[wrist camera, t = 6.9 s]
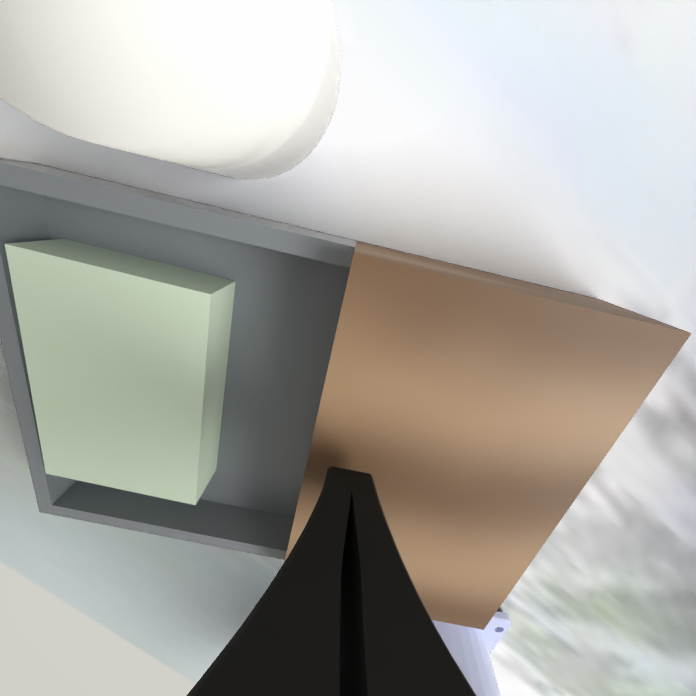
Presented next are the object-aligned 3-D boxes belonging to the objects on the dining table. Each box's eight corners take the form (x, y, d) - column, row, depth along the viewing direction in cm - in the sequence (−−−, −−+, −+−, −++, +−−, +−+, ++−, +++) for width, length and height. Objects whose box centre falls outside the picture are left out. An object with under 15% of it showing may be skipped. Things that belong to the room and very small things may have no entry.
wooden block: (460, 550, 17) (483, 629, 14) (294, 517, 17) (277, 590, 13) (600, 299, 12) (691, 333, 8) (356, 240, 11) (353, 252, 8)
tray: (294, 517, 17) (285, 559, 15) (80, 474, 16) (39, 511, 14) (356, 240, 11) (355, 247, 9) (35, 163, 11) (-42, 151, 9)
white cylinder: (321, 199, 11) (275, 186, 5) (141, 156, 10) (-106, 96, 5) (362, -49, 8) (356, -548, 3) (131, -111, 8) (-360, -792, 3)
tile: (45, 473, 13) (86, 440, 15) (195, 505, 13) (216, 469, 15) (4, 244, 9) (64, 238, 11) (210, 294, 10) (235, 281, 11)
